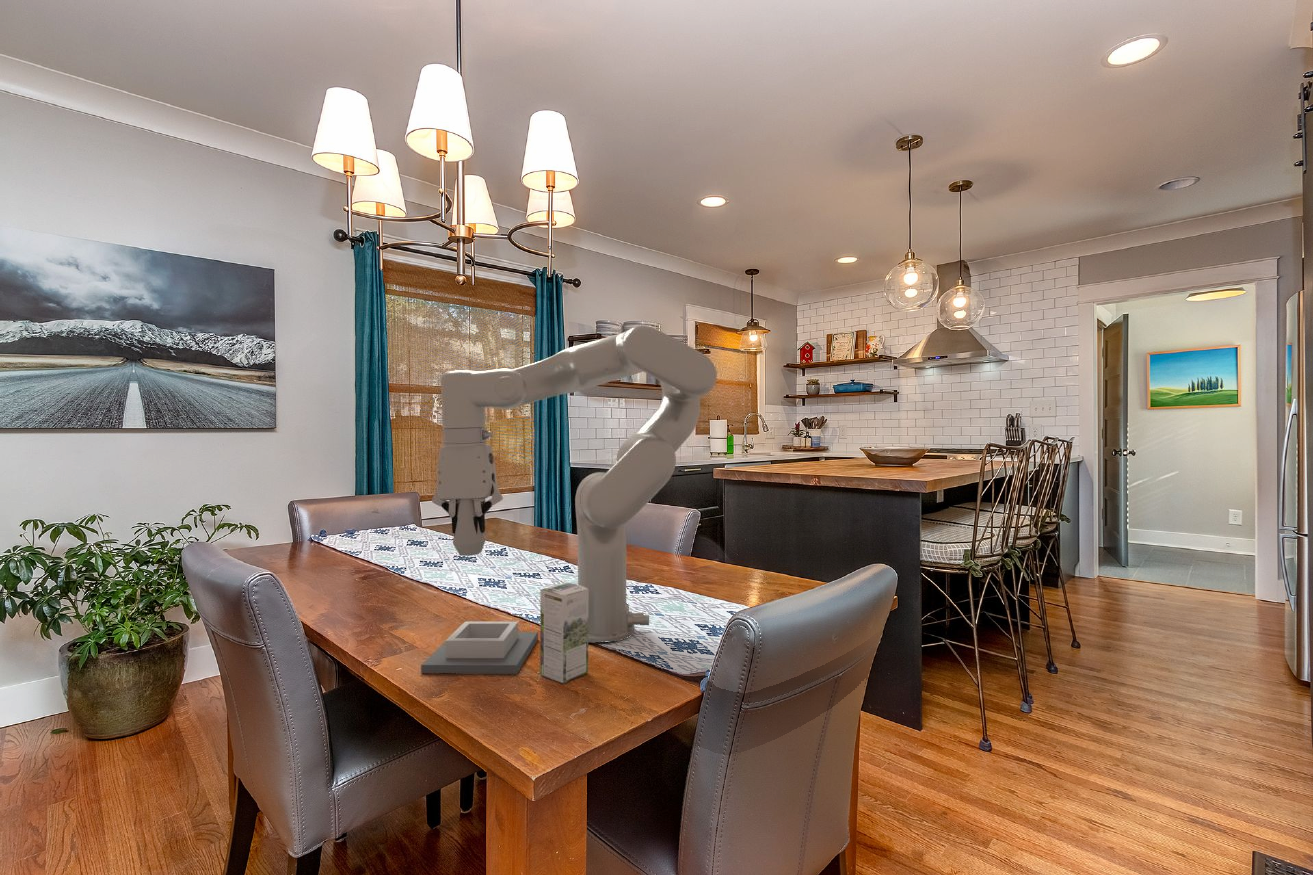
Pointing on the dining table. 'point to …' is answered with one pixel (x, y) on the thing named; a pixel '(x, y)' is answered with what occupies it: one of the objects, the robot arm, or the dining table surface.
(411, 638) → the dining table surface
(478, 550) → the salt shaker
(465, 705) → the dining table surface
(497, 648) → the grey square base
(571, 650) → the syrup box
